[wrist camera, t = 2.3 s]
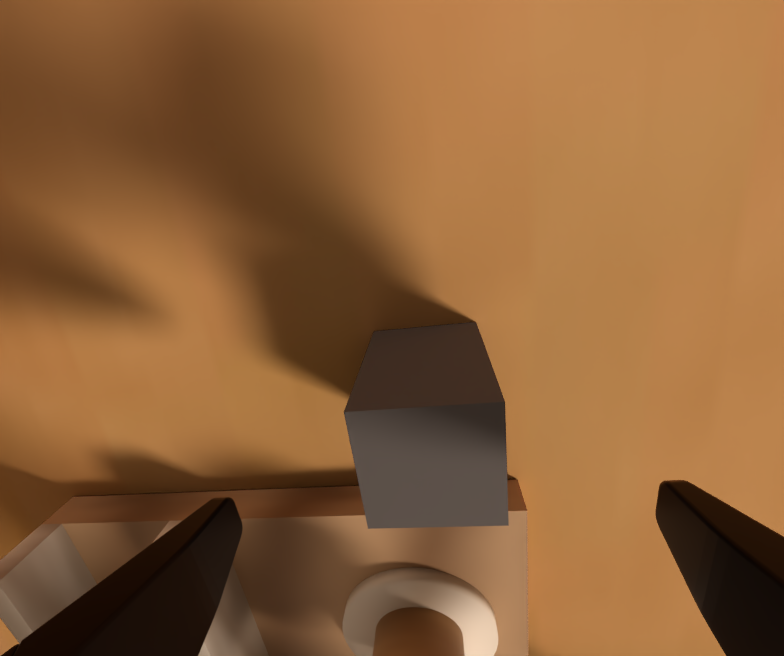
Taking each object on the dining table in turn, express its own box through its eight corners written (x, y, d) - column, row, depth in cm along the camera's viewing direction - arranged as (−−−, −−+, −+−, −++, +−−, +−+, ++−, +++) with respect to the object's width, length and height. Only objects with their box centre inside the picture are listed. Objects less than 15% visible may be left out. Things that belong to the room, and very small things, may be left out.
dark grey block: (475, 321, 12) (504, 401, 8) (480, 410, 14) (508, 525, 9) (373, 331, 13) (344, 412, 8) (387, 415, 14) (368, 528, 9)
